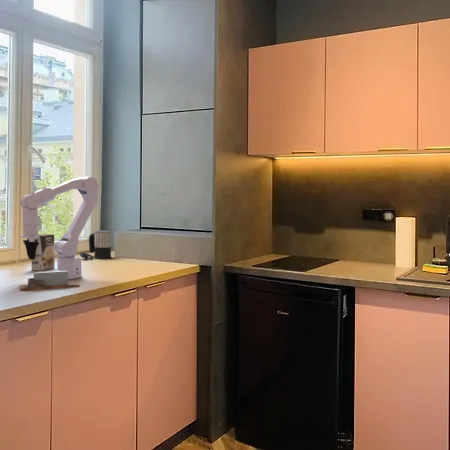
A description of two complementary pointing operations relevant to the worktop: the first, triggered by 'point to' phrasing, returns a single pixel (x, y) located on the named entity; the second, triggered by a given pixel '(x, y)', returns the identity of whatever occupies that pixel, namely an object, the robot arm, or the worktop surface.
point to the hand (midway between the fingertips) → (31, 258)
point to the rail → (52, 277)
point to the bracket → (41, 285)
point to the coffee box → (44, 253)
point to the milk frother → (99, 245)
